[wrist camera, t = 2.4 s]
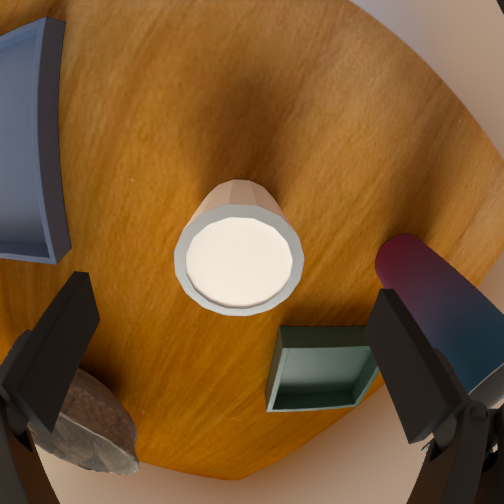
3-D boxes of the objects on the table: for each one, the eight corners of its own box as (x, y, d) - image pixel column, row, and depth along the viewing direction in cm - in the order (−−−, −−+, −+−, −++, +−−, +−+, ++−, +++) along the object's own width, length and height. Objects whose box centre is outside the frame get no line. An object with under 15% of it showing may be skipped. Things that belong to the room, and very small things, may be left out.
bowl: (14, 294, 24) (-30, 355, 16) (172, 375, 30) (159, 454, 21) (21, 379, 33) (0, 425, 24) (132, 432, 38) (122, 484, 29)
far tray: (384, 324, 27) (394, 343, 25) (352, 388, 33) (357, 406, 30) (279, 325, 27) (282, 347, 24) (264, 392, 32) (266, 412, 29)
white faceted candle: (298, 184, 20) (324, 224, 14) (270, 265, 23) (280, 326, 17) (202, 160, 19) (184, 189, 13) (185, 247, 22) (166, 304, 16)
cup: (404, 208, 21) (531, 331, 8) (441, 251, 23) (538, 363, 10) (350, 267, 24) (428, 423, 11) (393, 301, 26) (463, 430, 13)
